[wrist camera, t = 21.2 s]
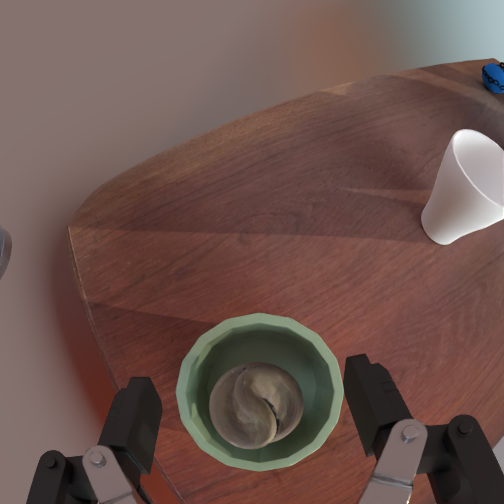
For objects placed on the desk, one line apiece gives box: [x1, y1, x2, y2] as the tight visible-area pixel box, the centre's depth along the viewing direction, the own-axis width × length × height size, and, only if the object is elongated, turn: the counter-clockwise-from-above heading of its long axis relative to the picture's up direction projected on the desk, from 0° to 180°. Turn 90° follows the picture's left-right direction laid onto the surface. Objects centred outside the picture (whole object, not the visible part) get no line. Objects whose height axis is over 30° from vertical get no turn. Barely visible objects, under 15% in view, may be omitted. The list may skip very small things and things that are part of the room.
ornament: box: [482, 62, 504, 94], centre depth 44 cm, size 9×9×10 cm
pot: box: [176, 313, 344, 471], centre depth 24 cm, size 13×13×9 cm
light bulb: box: [209, 362, 304, 449], centre depth 21 cm, size 6×6×15 cm
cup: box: [421, 129, 504, 245], centre depth 28 cm, size 10×10×14 cm
